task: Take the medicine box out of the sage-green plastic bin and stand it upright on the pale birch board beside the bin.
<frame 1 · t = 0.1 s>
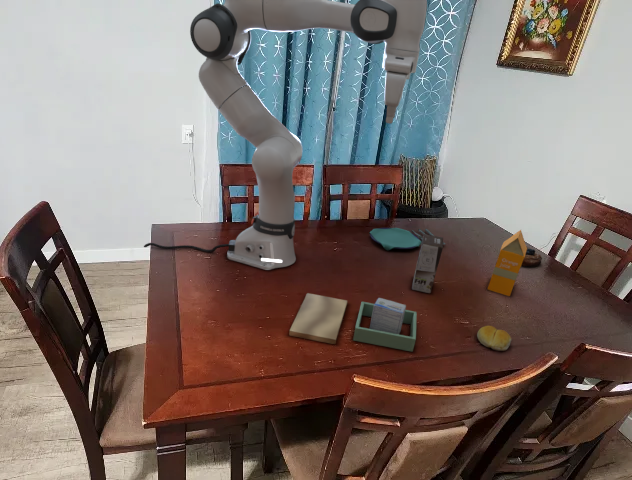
hand: (390, 120, 120), 48 cm above the table, tool pointing down, fingers open, 8 cm apart
board: (319, 319, 120), on the table
teal flat piece: (405, 241, 175), on the table
medicine box: (384, 332, 119), resting in bin
orange juice: (499, 288, 151), on the table
bread roll: (492, 342, 122), on the table
coffee box: (421, 285, 145), on the table
pastry: (522, 261, 174), on the table
bin: (384, 331, 119), on the table
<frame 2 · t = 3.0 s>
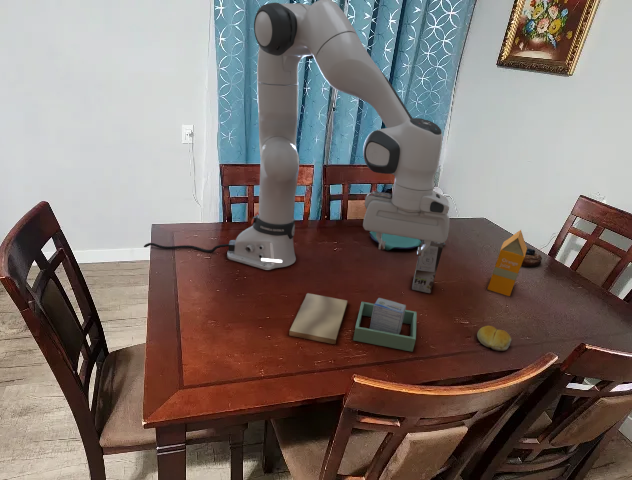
hand: (400, 252, 108), 23 cm above the table, tool pointing down, fingers open, 8 cm apart
nothing on the table moved.
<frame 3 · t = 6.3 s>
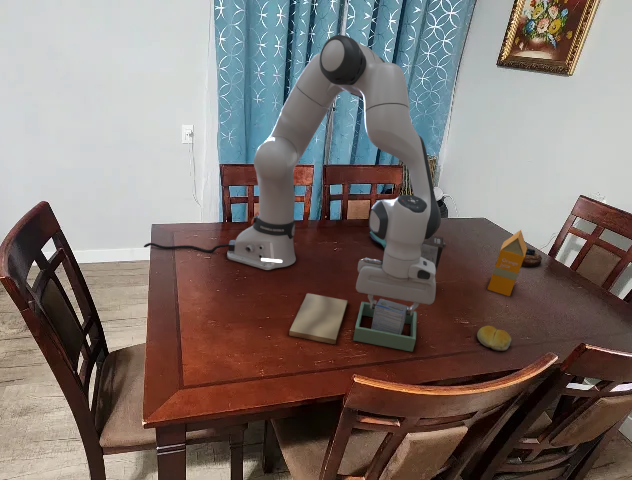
hand: (391, 311, 115), 7 cm above the table, tool pointing down, fingers closed on medicine box, 8 cm apart
medicine box: (386, 333, 119), resting in bin, touching gripper
everything else where it was.
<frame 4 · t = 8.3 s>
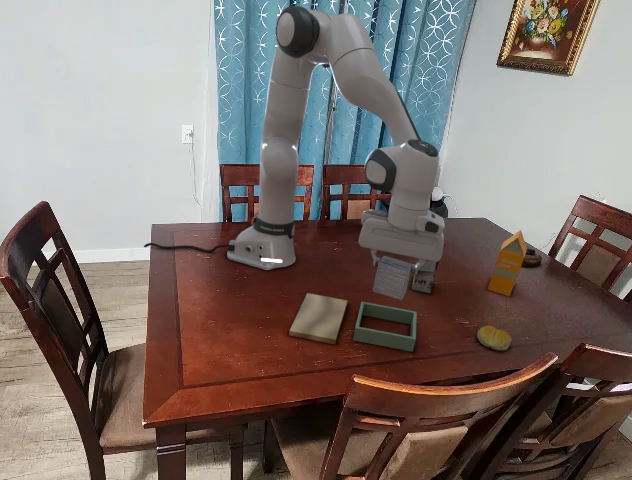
hand: (394, 269, 109), 19 cm above the table, tool pointing down, fingers closed on medicine box, 8 cm apart
medicine box: (388, 293, 113), point 12 cm above the table, touching gripper
everything else where it was.
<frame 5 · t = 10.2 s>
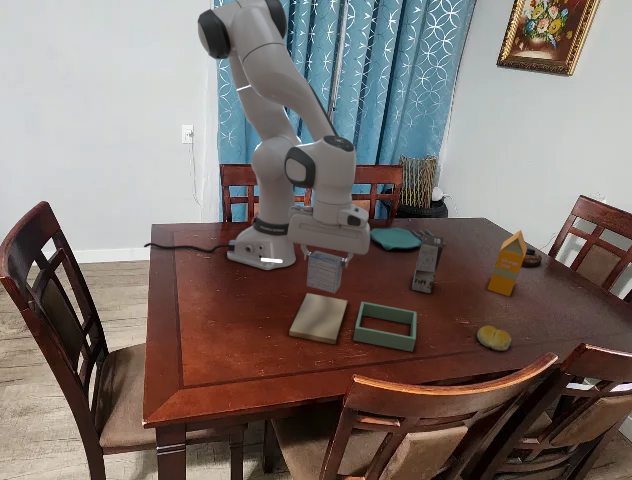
hand: (326, 263, 111), 17 cm above the table, tool pointing down, fingers closed on medicine box, 8 cm apart
medicine box: (323, 287, 115), point 10 cm above the table, touching gripper
everything else where it was.
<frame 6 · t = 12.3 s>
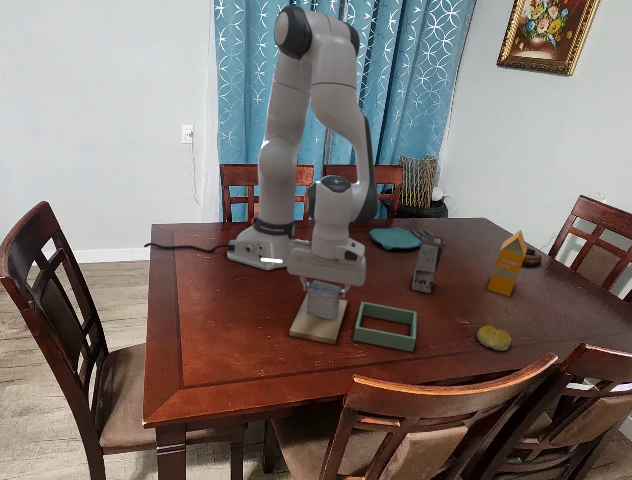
hand: (324, 293, 116), 8 cm above the table, tool pointing down, fingers closed on medicine box, 8 cm apart
medicine box: (322, 314, 120), point 1 cm above the table, touching board, gripper
everything else where it was.
when the fingers open (22 cm above the table, at t = 14.1 s): medicine box drops 14 cm, resting on board.
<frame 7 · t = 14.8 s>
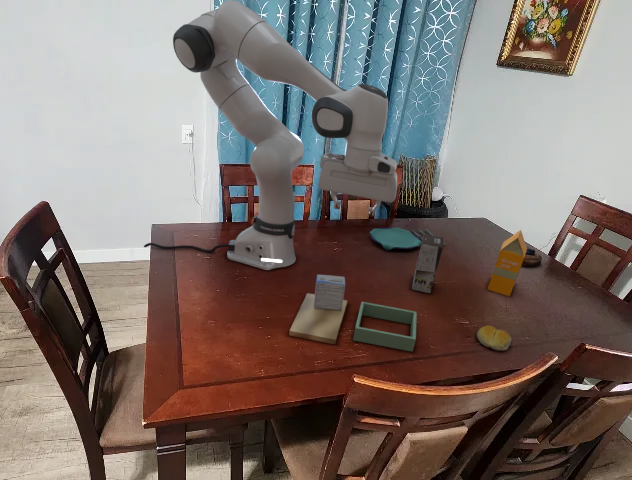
hand: (354, 211, 117), 27 cm above the table, tool pointing down, fingers open, 8 cm apart
medicine box: (327, 306, 124), point 1 cm above the table, touching board
everything else where it was.
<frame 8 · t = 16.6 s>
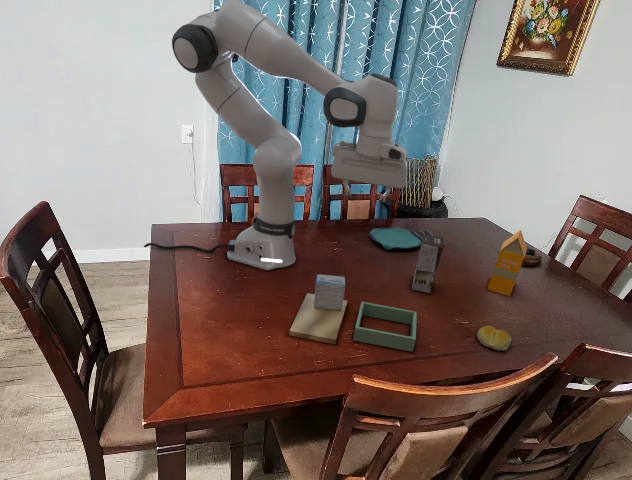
hand: (365, 198, 121), 29 cm above the table, tool pointing down, fingers open, 8 cm apart
nothing on the table moved.
at the end: medicine box inside the target area on the board (5.2 cm from its centre), point 1.3 cm above the board's base; medicine box tilted 0°; the gripper is holding nothing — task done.
